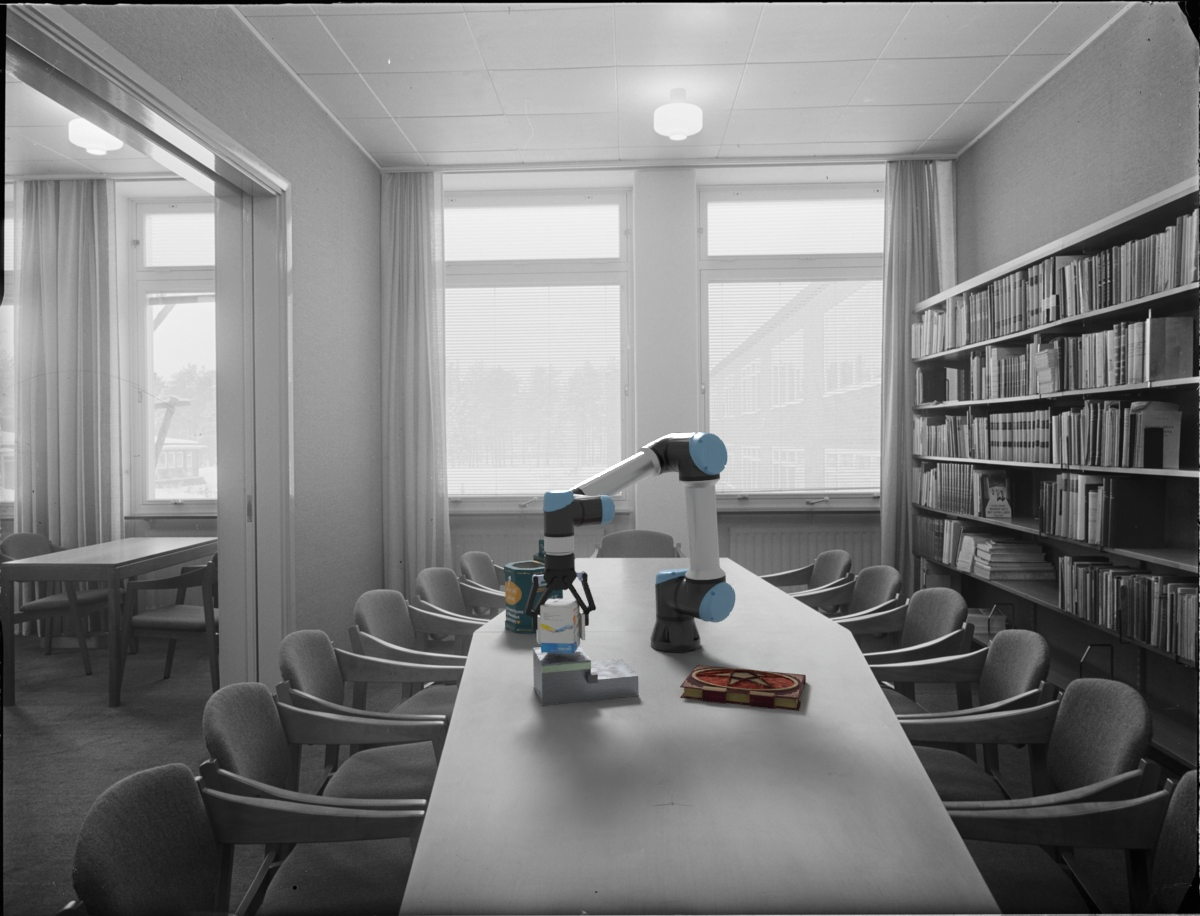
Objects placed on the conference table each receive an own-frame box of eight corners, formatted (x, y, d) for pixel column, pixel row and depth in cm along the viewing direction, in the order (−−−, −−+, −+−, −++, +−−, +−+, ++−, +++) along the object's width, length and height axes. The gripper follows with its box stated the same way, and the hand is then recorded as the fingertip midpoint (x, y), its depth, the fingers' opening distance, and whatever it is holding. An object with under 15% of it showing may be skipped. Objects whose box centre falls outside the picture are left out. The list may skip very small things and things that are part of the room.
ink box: (573, 654, 181) (572, 606, 181) (540, 652, 183) (539, 605, 182) (581, 643, 190) (580, 598, 189) (549, 642, 191) (548, 597, 191)
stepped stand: (623, 677, 198) (623, 640, 198) (641, 698, 182) (640, 658, 182) (533, 686, 192) (533, 647, 192) (543, 708, 177) (543, 667, 176)
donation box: (564, 627, 248) (563, 544, 247) (521, 636, 239) (520, 549, 238) (540, 618, 262) (539, 538, 261) (499, 625, 253) (497, 543, 252)
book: (805, 686, 192) (805, 667, 192) (799, 714, 173) (799, 692, 172) (697, 676, 202) (697, 657, 202) (679, 701, 182) (679, 680, 182)
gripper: (600, 547, 192) (601, 632, 193) (511, 552, 186) (513, 640, 187) (607, 552, 185) (609, 640, 185) (515, 557, 179) (517, 648, 180)
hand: (560, 640), depth 186 cm, fingers closed on ink box, 10 cm apart
